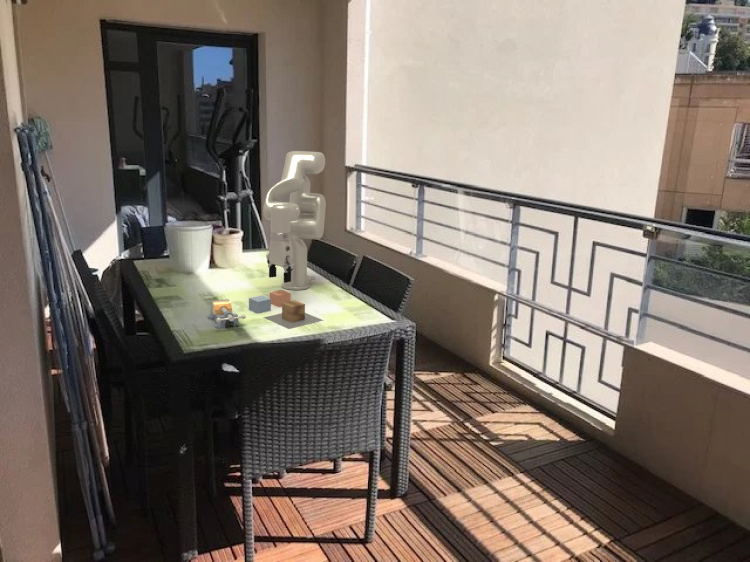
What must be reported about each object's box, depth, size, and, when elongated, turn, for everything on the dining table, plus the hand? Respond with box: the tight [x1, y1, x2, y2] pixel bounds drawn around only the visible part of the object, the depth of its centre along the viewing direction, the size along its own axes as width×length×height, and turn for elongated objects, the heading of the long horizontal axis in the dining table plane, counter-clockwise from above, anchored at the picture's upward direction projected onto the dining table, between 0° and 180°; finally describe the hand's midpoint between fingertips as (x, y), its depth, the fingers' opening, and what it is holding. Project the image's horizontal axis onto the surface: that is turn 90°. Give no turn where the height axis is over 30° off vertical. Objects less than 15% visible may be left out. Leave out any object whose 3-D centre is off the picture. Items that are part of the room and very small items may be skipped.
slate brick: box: [248, 295, 272, 314], centre depth 239 cm, size 6×6×6 cm
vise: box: [207, 298, 247, 330], centre depth 227 cm, size 18×10×7 cm, turn 28°
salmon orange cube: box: [269, 289, 292, 308], centre depth 248 cm, size 6×6×6 cm
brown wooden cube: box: [281, 299, 306, 322], centre depth 230 cm, size 6×6×6 cm
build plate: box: [263, 312, 324, 330], centre depth 231 cm, size 16×16×1 cm
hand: (279, 279), depth 245 cm, fingers open, 9 cm apart
